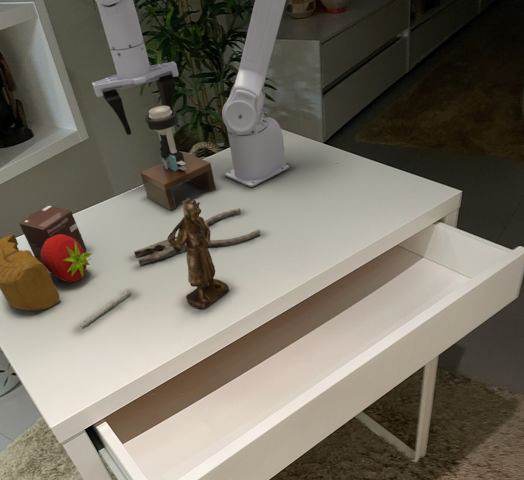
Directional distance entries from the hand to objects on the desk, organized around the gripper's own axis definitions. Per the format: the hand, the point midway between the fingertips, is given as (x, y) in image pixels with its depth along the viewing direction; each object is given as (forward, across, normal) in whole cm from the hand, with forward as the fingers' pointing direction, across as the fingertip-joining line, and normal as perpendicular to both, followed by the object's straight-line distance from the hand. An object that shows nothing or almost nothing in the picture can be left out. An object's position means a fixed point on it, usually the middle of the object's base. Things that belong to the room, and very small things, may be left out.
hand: (149, 127), depth 101 cm
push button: (+6, +2, -8) cm, 9 cm away
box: (+10, -22, -16) cm, 29 cm away
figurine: (+11, -5, -40) cm, 42 cm away
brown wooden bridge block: (+10, +2, -8) cm, 13 cm away
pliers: (+10, -1, -27) cm, 29 cm away
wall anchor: (+10, -18, -35) cm, 41 cm away
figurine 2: (+8, -30, -16) cm, 35 cm away
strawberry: (+7, -24, -20) cm, 32 cm away
